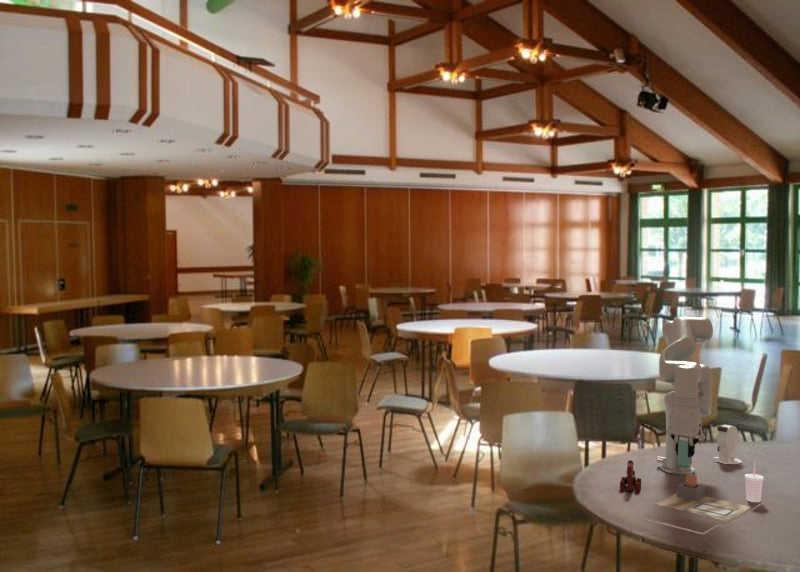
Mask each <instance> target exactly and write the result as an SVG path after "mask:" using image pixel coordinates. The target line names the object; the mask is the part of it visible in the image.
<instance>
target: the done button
mask: <svg viewBox="0 0 800 572" xmlns="http://www.w3.org/2000/svg"><path fill="white" fill-rule="evenodd" d="M697 476H698V475H697V474H694V473H693V474H687V475H685V482H686V487H691V488H696V487H697V484H698V477H697Z"/></svg>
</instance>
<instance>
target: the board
mask: <svg viewBox="0 0 800 572" xmlns="http://www.w3.org/2000/svg"><path fill="white" fill-rule="evenodd" d="M654 505H658V506H660V507H661V506H662V507H665V508H670V509H675V510H679V511H682V512H686V513H691V514H695V515H699V516H703V517H704V516H705V517H708V518H712V519H716V520H720V521H724V522H727V524H729V523H730V521H732V520H733V519H735V518H737V517H738V516H742V515H743V513H747V512H748V510H750V509H751V508H752V506H750V505H746V504H740V503H736V502H732V501H728V500H724V499H720V498H719V499H718V498H714V497H710V496H706V495H705V497H704V498H702V499H700V500H698V501H693V500H688V499H684V498H680V497H677V492H676V493H674V494H672V495H670V496H669V497H666V498H664V499H662V500H660V501H658V502H656V503H654Z"/></svg>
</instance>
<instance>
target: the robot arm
mask: <svg viewBox="0 0 800 572" xmlns="http://www.w3.org/2000/svg"><path fill="white" fill-rule="evenodd" d="M661 330H662V336H663V339H664V341H665V344H666V347H665V348H663V350H662V352H661V353H660V356H659V362H658V366H659V368H658V373H659V378H660V379H661V381H663V382H665V383H669V384H670V386H671V387H674V390H672V391H669V392H667V393H666V394H665V395H664V400H663V402H664V410H665V426H666V427H665V457H664V456H658V455H657V457H656V462H657V463H662V465H661V467H660V468H661V470H662V471H663V472H664V471H665V473H666V474H667V473H668V474H671V473H672V474H671V475H678V474H680V475H681V476H683V475H685V476H686V475H687V474H694V473H696V468H695V467H693V466H692V464H691V465H690V467H689V468H687V469H686V468H681V467H679V464H678V440H679V436H685V437H689V443H690V444H689V446H688V457H692V458H693V456H695V449H696V444H698V443H699V442H700V441H704V440H705V439H706V436H705V433H704V432H703V426H702V425H703V424H702V423H703V422H702V417H709V416H710V415H711V413H712V409H713V408H712V407H713V406H712V405H713V374H712V370H711V367H710V366H709V365H706V364H704V363H703V364H701V363H699V362H696V361H695V362H694V361H692V359H693V356H692V355H693V354H695V352H696V350H697V344H708V343H709V342H710V341H711V340H712V337H713V336H714V335H713V334H714V327H713V323H712V321H711V320H710V318H708V317H702V316H699V317H698V316H697V317H696V316H679V317H677V318H675V319H673V320H669V321H666V322H664V323H663V324H662V329H661ZM680 475H679V476H680Z"/></svg>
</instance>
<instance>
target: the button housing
mask: <svg viewBox="0 0 800 572" xmlns="http://www.w3.org/2000/svg"><path fill="white" fill-rule="evenodd" d="M676 493H677V497H680V498H684V499H688V500H693V501H698V500H700V499H702V498H704V497H705V496H706V485H704V484H700V483H699V484H698V483H697V487H696V488H691V487H686V481H684V482H682V483H680V484H678V485H677V486H676Z"/></svg>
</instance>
